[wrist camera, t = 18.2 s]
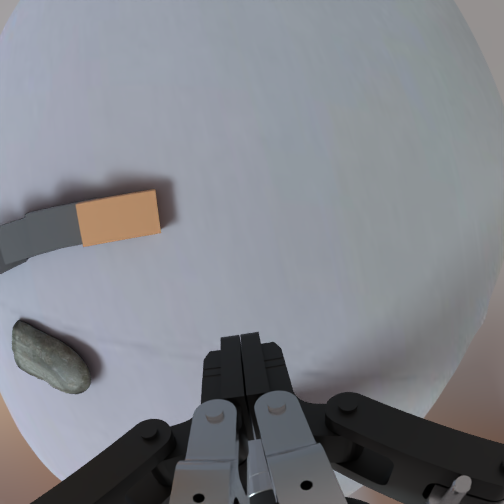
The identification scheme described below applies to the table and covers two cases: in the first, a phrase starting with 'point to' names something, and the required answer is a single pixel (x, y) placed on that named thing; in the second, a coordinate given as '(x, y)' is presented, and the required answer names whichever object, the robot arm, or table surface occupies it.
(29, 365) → the stone
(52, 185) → the table surface
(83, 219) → the domino
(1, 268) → the domino
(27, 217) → the domino
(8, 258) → the domino
